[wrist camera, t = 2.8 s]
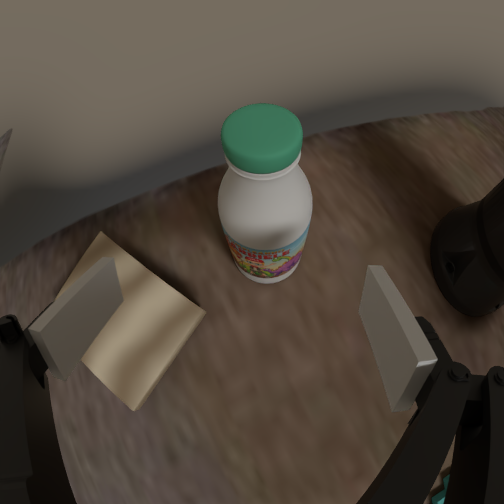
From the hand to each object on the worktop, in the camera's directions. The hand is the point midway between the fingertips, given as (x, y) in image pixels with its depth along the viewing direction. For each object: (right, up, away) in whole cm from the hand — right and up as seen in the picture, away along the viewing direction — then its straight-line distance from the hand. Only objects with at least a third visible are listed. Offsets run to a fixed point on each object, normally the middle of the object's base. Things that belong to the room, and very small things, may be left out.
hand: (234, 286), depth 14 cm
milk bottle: (+3, +2, +20) cm, 20 cm away
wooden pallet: (-14, -7, +17) cm, 23 cm away
